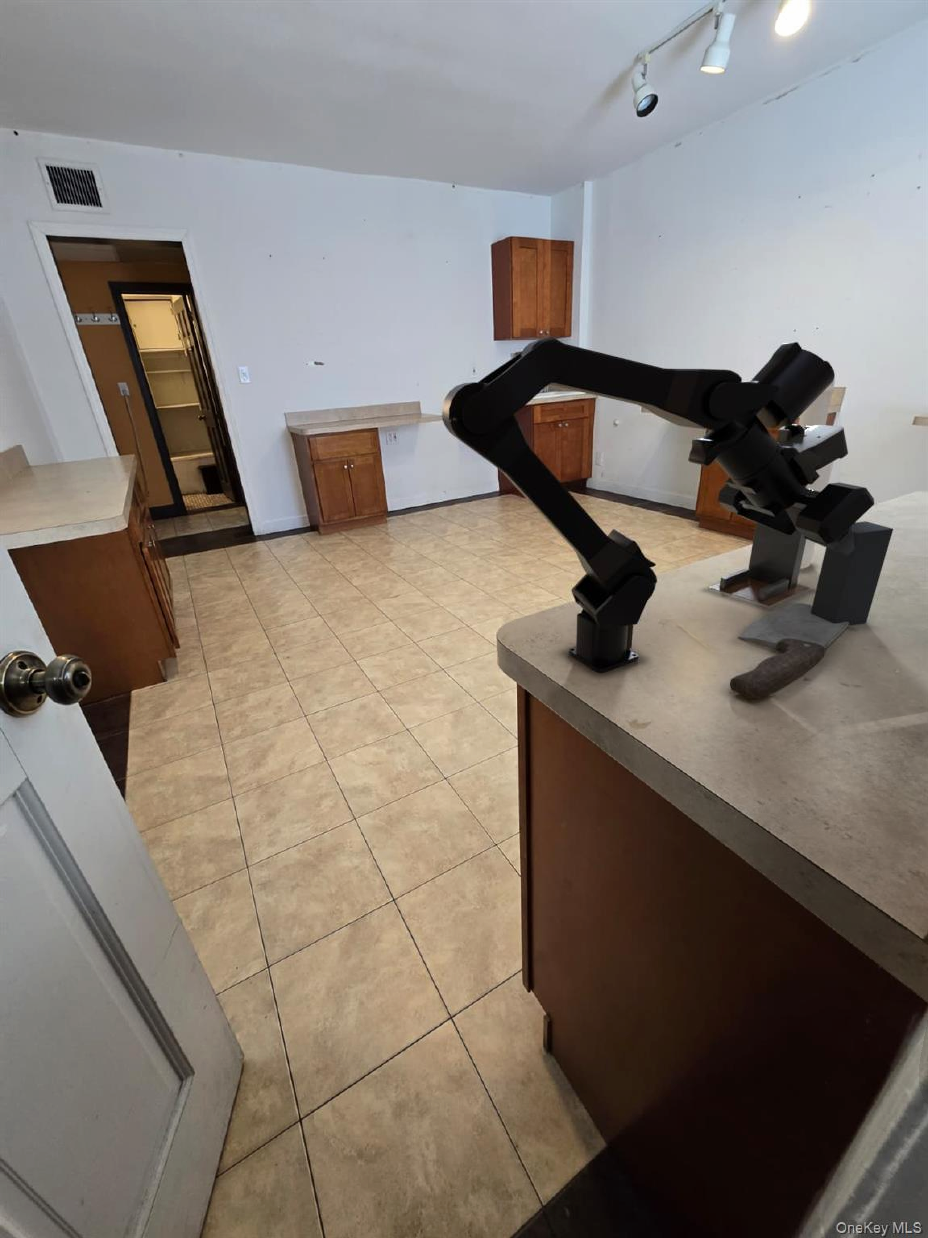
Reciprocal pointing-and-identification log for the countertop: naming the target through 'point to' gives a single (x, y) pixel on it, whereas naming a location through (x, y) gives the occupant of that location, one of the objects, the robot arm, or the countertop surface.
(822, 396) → the bottle
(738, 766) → the countertop surface
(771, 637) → the cleaver
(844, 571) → the back pad
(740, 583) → the pad mount
